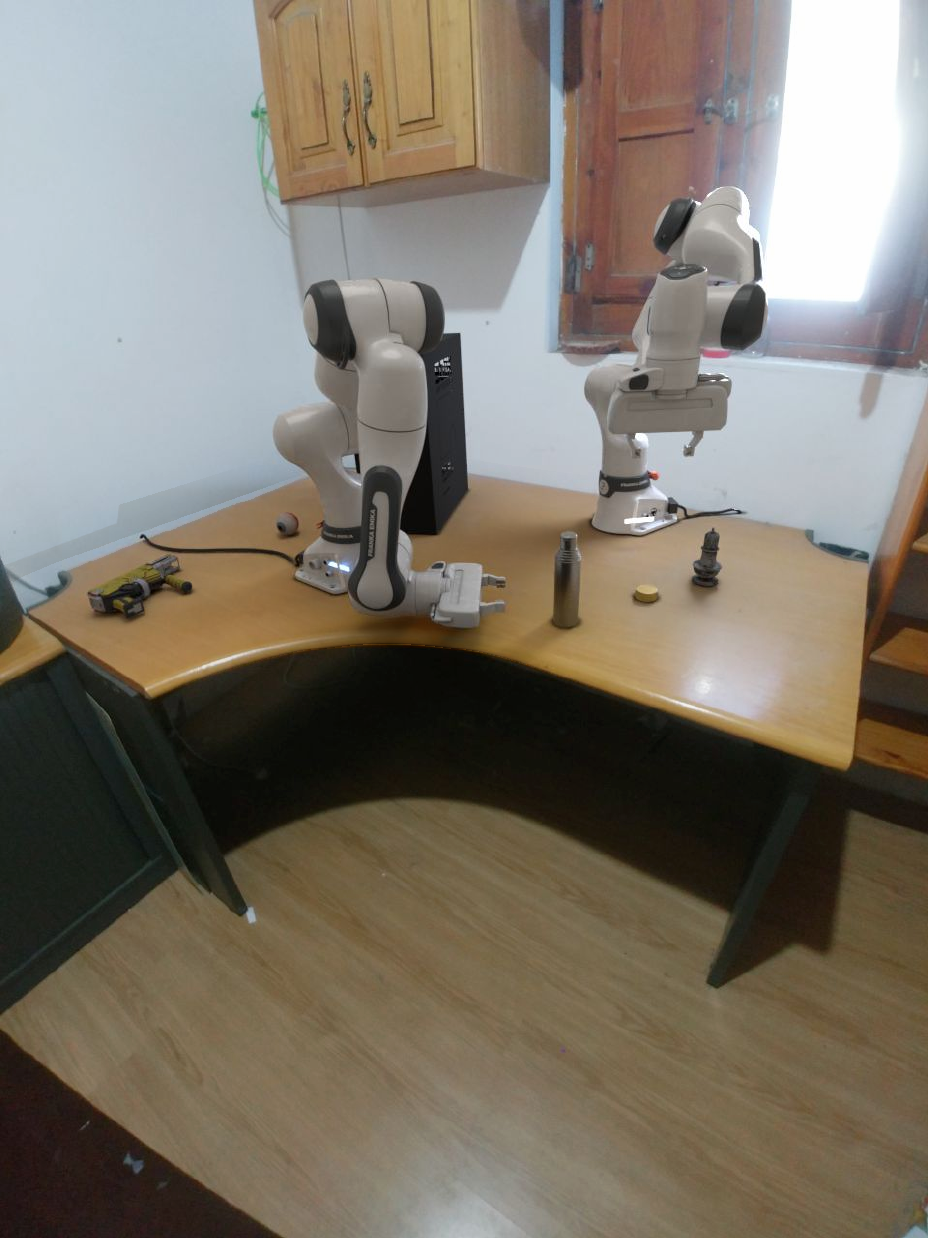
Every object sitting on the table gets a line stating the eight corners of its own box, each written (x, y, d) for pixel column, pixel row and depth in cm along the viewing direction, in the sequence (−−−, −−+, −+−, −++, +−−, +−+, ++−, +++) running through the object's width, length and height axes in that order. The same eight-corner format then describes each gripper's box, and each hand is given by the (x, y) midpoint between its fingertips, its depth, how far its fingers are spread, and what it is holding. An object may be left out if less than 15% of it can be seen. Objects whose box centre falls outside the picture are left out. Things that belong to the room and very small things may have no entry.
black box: (436, 534, 159) (422, 349, 137) (364, 531, 164) (339, 351, 141) (468, 489, 191) (460, 332, 168) (407, 487, 195) (391, 335, 173)
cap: (642, 603, 122) (643, 595, 121) (631, 594, 125) (631, 586, 125) (661, 599, 123) (662, 591, 122) (649, 590, 126) (650, 582, 126)
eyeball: (273, 537, 164) (268, 516, 161) (287, 528, 169) (282, 508, 166) (291, 539, 161) (286, 518, 158) (305, 530, 166) (301, 510, 163)
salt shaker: (721, 586, 126) (731, 533, 120) (692, 585, 127) (700, 532, 121) (717, 574, 131) (726, 522, 125) (688, 573, 132) (696, 521, 126)
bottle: (557, 613, 120) (559, 528, 111) (580, 617, 118) (585, 531, 109) (549, 625, 116) (551, 537, 107) (574, 629, 115) (578, 540, 106)
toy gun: (216, 562, 143) (165, 551, 147) (137, 606, 123) (80, 592, 127) (219, 580, 145) (169, 569, 149) (142, 626, 125) (86, 611, 129)
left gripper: (426, 606, 106) (504, 605, 105) (437, 557, 124) (505, 556, 122) (428, 636, 109) (505, 636, 108) (439, 584, 127) (505, 584, 126)
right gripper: (727, 369, 104) (715, 450, 111) (607, 375, 106) (602, 453, 113) (739, 375, 99) (726, 459, 106) (613, 380, 101) (607, 463, 107)
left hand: (505, 593), depth 115 cm, fingers open, 8 cm apart
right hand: (661, 456), depth 109 cm, fingers open, 8 cm apart
